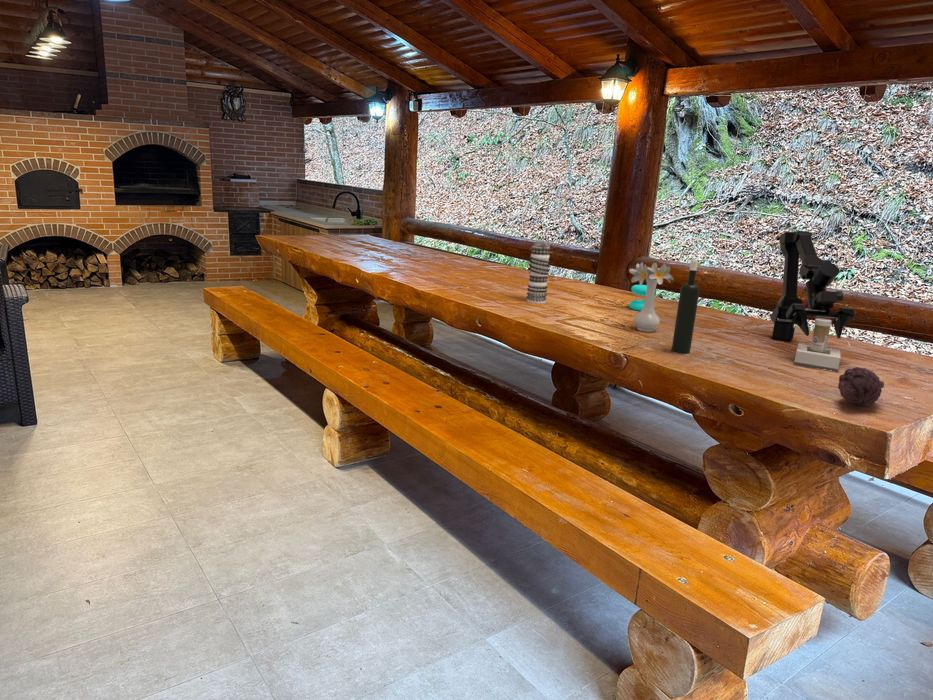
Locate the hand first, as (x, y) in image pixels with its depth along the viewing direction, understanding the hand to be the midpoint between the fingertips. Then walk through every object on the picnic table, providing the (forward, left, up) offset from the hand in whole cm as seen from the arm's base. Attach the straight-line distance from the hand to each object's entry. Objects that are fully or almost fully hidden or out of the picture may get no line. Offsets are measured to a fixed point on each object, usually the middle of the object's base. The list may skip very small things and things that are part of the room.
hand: (823, 336), depth 200 cm
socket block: (-1, +1, -9) cm, 9 cm away
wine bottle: (-40, -13, -10) cm, 43 cm away
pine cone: (+9, -38, -10) cm, 40 cm away
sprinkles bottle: (-1, +2, -8) cm, 9 cm away
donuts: (-69, +49, -10) cm, 85 cm away
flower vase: (-58, +10, -10) cm, 59 cm away
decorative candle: (-110, +31, -10) cm, 114 cm away
